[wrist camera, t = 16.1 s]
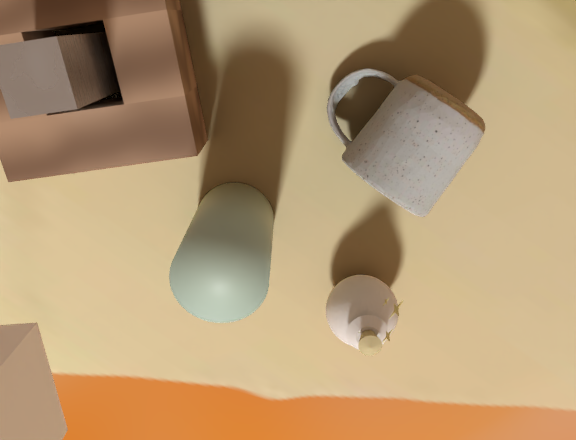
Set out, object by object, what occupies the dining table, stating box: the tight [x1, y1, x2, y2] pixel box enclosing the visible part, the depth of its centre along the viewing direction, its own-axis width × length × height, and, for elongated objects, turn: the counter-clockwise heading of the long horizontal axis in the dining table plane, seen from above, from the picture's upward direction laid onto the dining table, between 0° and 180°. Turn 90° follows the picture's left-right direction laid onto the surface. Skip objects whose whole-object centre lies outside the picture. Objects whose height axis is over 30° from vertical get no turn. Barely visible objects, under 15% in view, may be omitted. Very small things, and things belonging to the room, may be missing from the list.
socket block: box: [0, 0, 208, 182], centre depth 37 cm, size 14×14×5 cm
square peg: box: [0, 32, 120, 119], centre depth 35 cm, size 4×4×11 cm
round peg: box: [169, 182, 274, 323], centre depth 39 cm, size 6×6×11 cm
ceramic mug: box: [327, 68, 485, 217], centre depth 38 cm, size 11×8×8 cm
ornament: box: [326, 275, 403, 356], centre depth 42 cm, size 6×7×10 cm
